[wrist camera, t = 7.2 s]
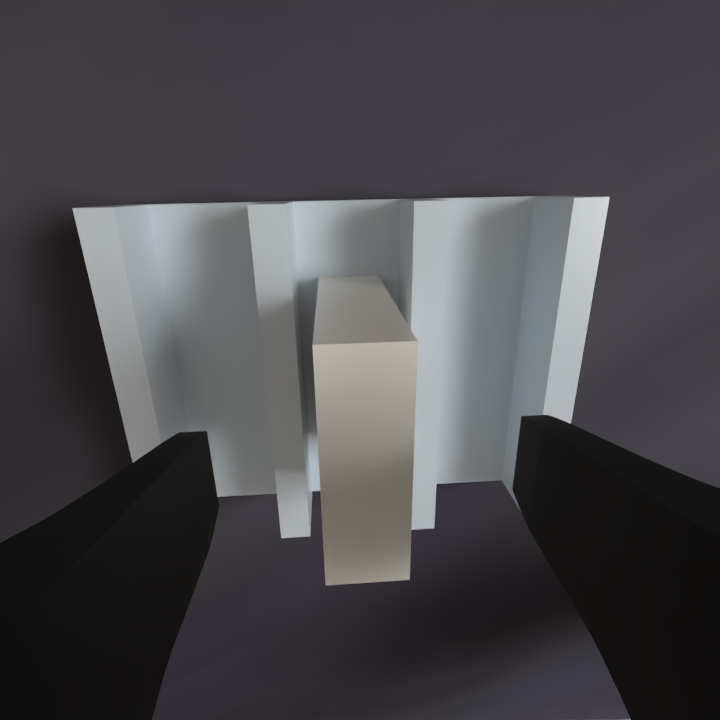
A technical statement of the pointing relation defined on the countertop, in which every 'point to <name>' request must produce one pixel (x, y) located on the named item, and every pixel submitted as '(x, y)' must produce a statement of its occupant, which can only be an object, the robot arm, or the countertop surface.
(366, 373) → the cream tile
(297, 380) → the drying rack
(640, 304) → the countertop surface
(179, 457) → the robot arm
